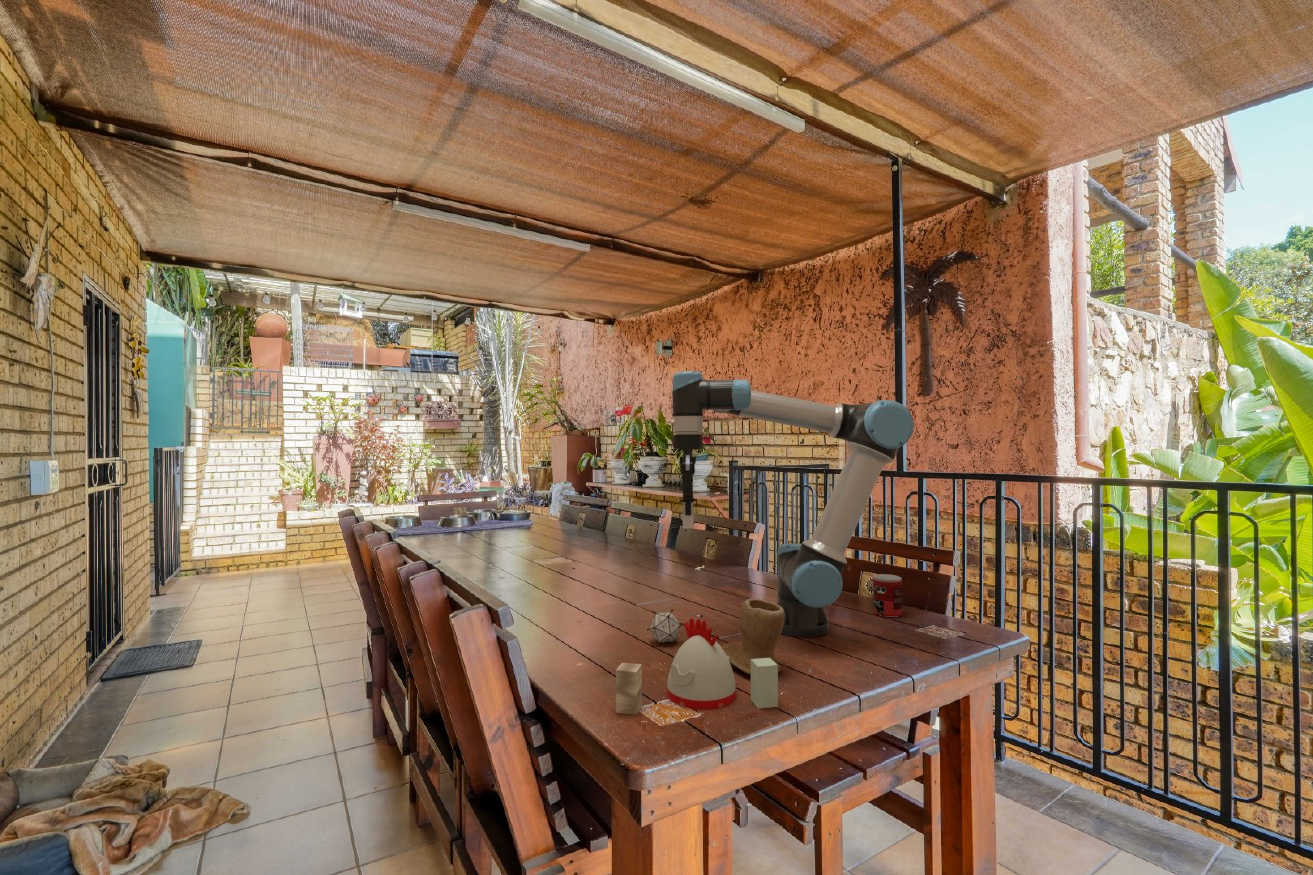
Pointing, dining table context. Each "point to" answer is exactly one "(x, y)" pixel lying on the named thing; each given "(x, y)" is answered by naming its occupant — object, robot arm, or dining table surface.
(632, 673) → the birch block
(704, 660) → the kitchen timer
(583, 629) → the dining table surface
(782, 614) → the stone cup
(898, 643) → the dining table surface
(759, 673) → the sage block
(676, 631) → the game die
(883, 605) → the canned food
